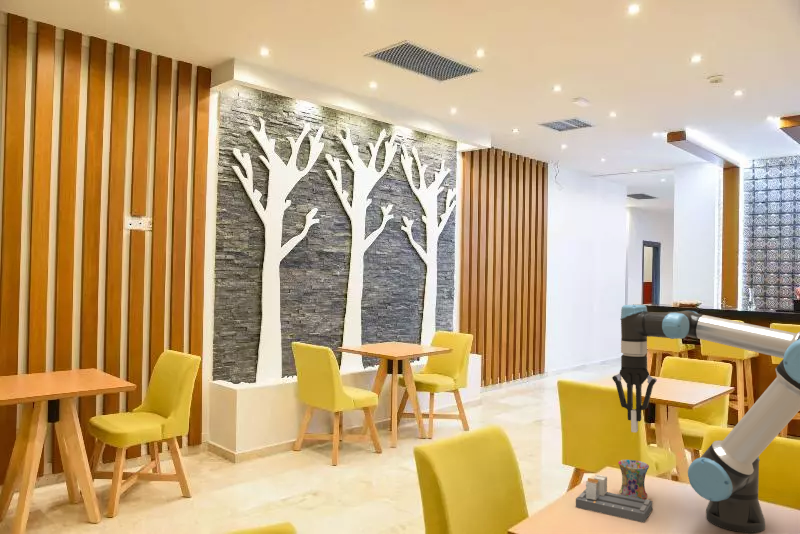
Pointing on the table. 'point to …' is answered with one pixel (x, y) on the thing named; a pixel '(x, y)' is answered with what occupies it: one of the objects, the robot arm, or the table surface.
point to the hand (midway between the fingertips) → (634, 431)
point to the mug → (633, 478)
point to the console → (615, 503)
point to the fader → (592, 489)
